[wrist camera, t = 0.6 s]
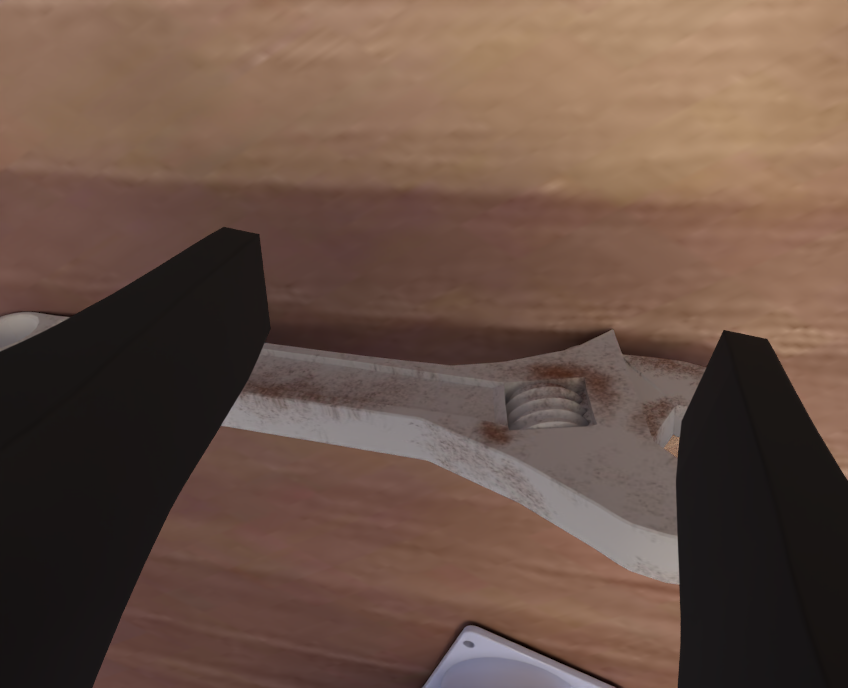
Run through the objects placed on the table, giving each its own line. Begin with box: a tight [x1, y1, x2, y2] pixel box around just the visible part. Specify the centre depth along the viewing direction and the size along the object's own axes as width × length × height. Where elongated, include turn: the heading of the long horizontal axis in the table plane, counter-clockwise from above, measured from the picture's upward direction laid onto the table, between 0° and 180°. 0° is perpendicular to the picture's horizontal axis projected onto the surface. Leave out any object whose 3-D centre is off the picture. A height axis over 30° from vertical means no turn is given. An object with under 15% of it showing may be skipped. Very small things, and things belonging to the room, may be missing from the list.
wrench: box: [0, 312, 706, 584], centre depth 24 cm, size 8×2×30 cm
